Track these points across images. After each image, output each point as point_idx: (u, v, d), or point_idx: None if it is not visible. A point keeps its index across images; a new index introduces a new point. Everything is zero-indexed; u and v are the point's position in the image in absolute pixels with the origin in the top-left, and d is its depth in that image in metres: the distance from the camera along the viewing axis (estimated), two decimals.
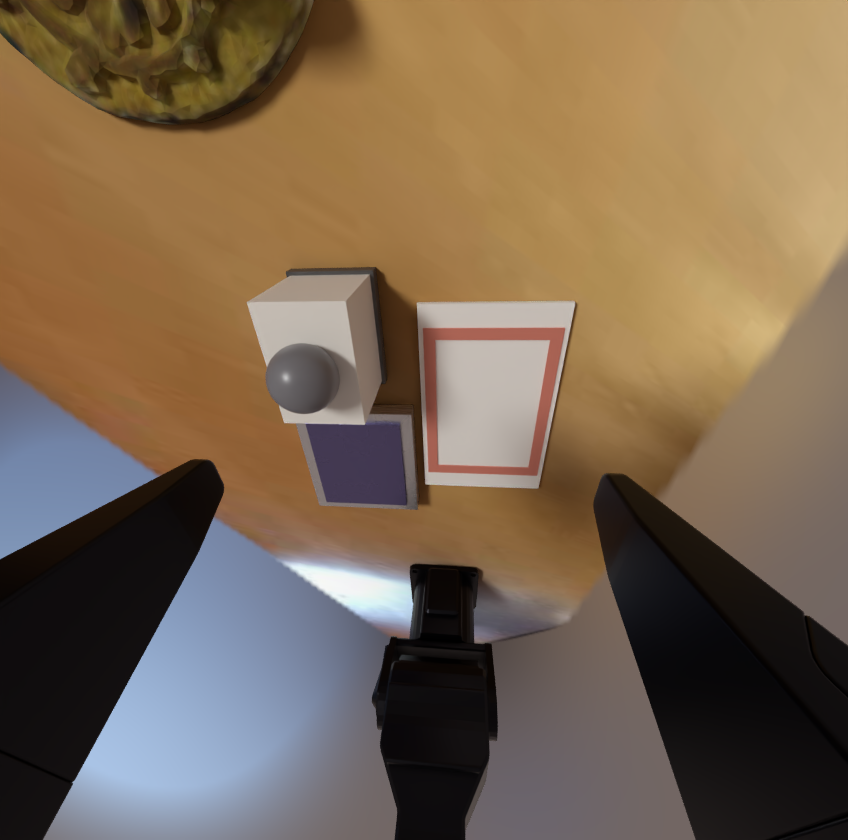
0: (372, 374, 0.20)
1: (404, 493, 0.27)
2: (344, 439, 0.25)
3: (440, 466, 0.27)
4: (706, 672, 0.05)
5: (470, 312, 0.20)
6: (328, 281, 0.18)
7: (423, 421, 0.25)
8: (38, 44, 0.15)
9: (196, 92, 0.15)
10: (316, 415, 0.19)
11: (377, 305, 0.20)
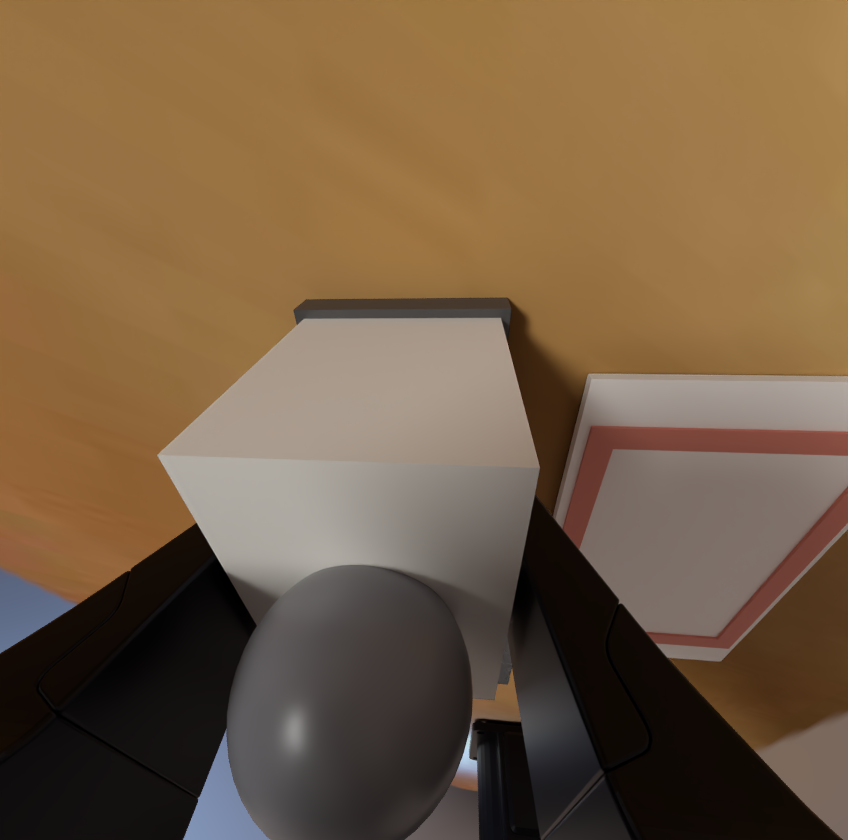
0: None
1: None
2: None
3: None
4: (535, 658, 0.05)
5: (712, 398, 0.09)
6: (409, 343, 0.07)
7: None
8: None
9: None
10: None
11: None
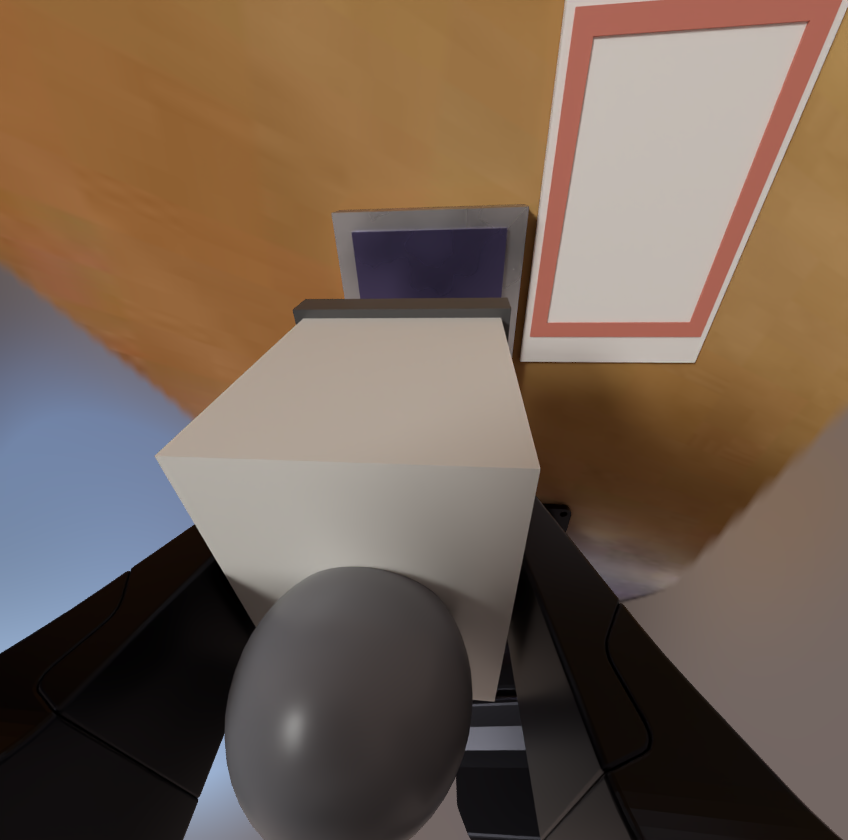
0: None
1: None
2: (411, 264, 0.16)
3: (549, 326, 0.18)
4: (535, 658, 0.05)
5: None
6: (409, 343, 0.07)
7: (538, 233, 0.16)
8: None
9: None
10: None
11: None
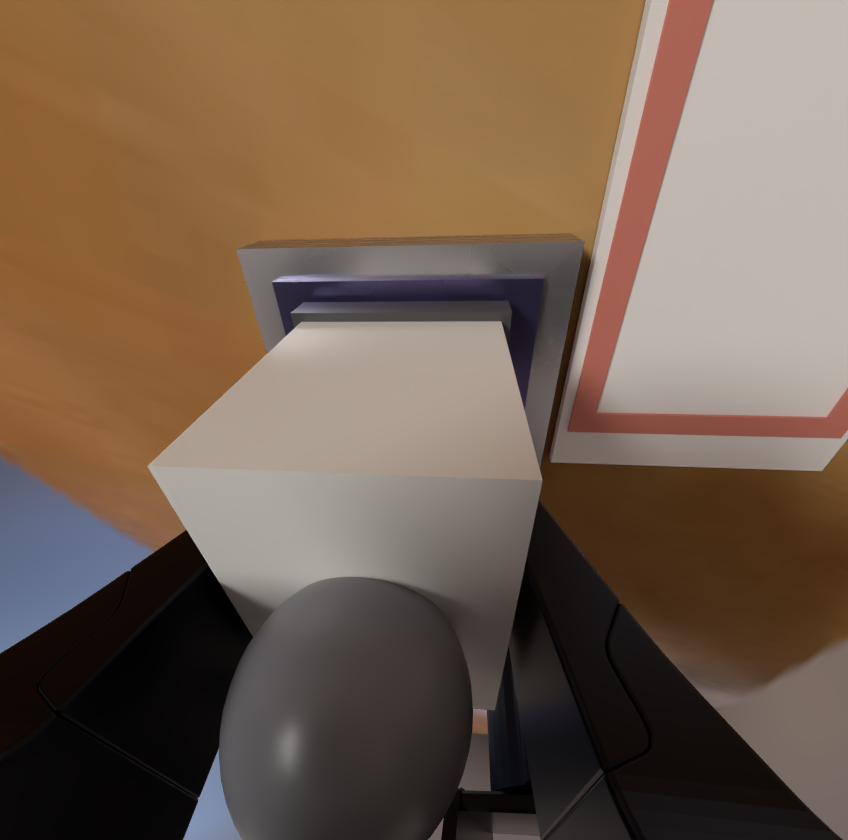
0: None
1: None
2: None
3: (599, 418, 0.11)
4: (535, 658, 0.05)
5: None
6: (408, 347, 0.07)
7: (592, 282, 0.09)
8: None
9: None
10: None
11: None
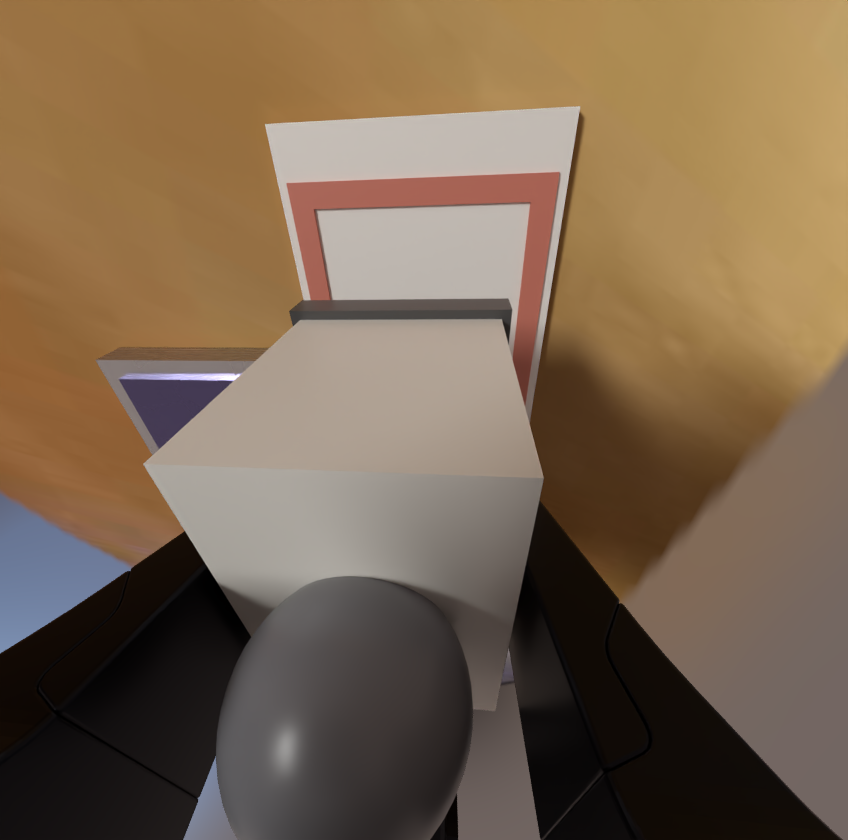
0: None
1: None
2: (189, 407, 0.15)
3: None
4: (535, 658, 0.05)
5: (371, 141, 0.10)
6: (408, 345, 0.07)
7: None
8: None
9: None
10: None
11: None
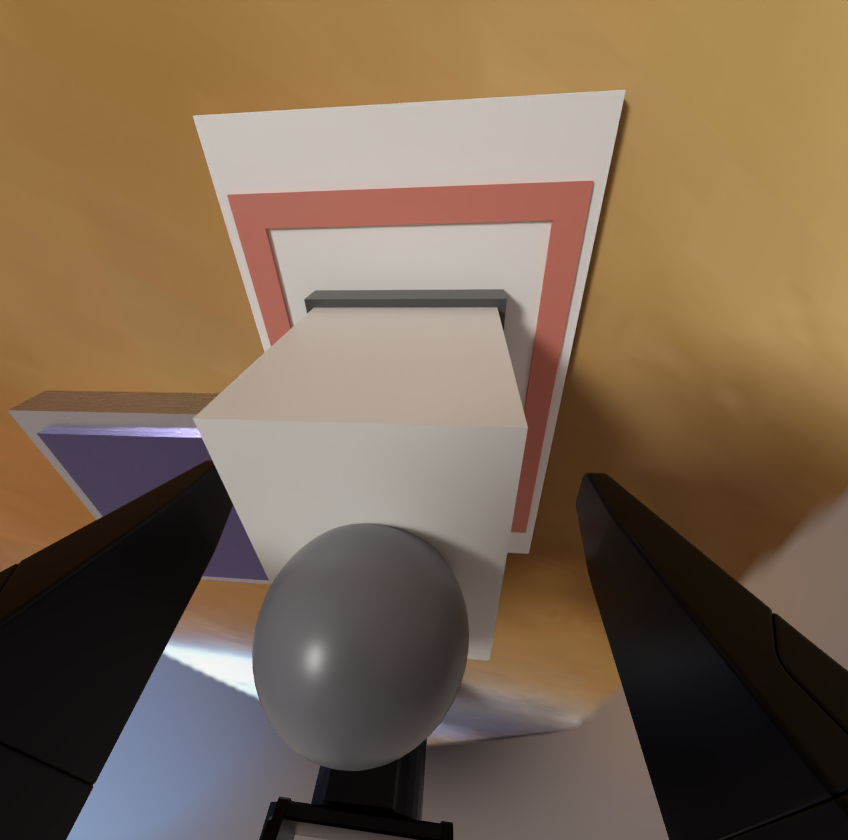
0: None
1: None
2: (127, 466, 0.12)
3: None
4: (676, 670, 0.05)
5: (337, 139, 0.08)
6: (413, 328, 0.07)
7: None
8: None
9: None
10: None
11: None
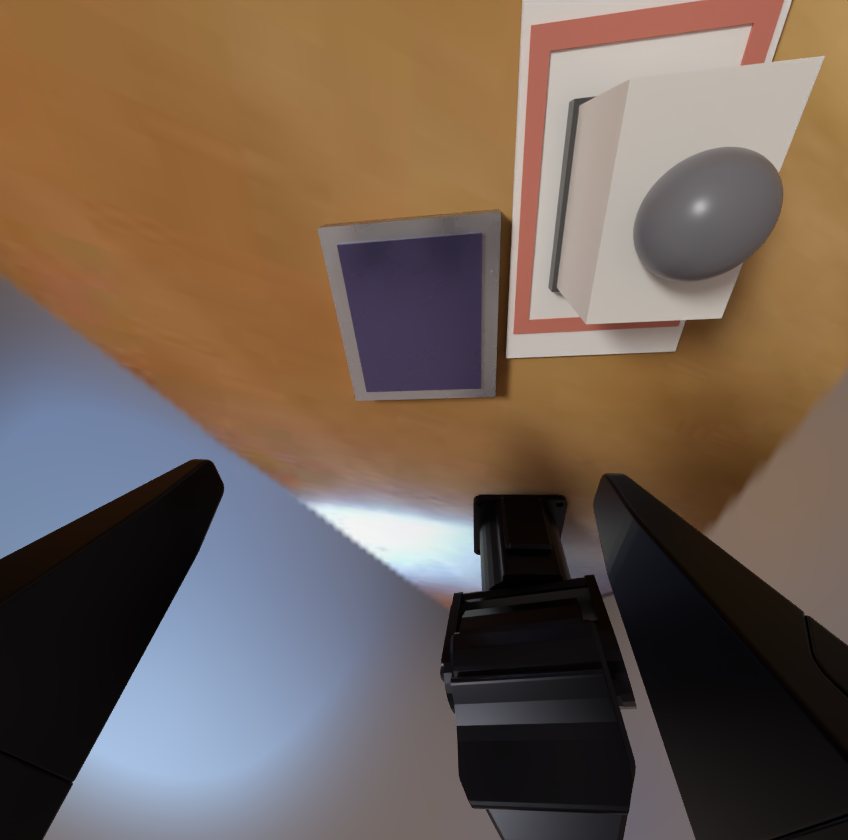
0: None
1: (479, 367, 0.19)
2: (394, 271, 0.17)
3: (531, 323, 0.19)
4: (705, 672, 0.05)
5: None
6: None
7: (513, 236, 0.16)
8: None
9: None
10: (646, 307, 0.12)
11: None
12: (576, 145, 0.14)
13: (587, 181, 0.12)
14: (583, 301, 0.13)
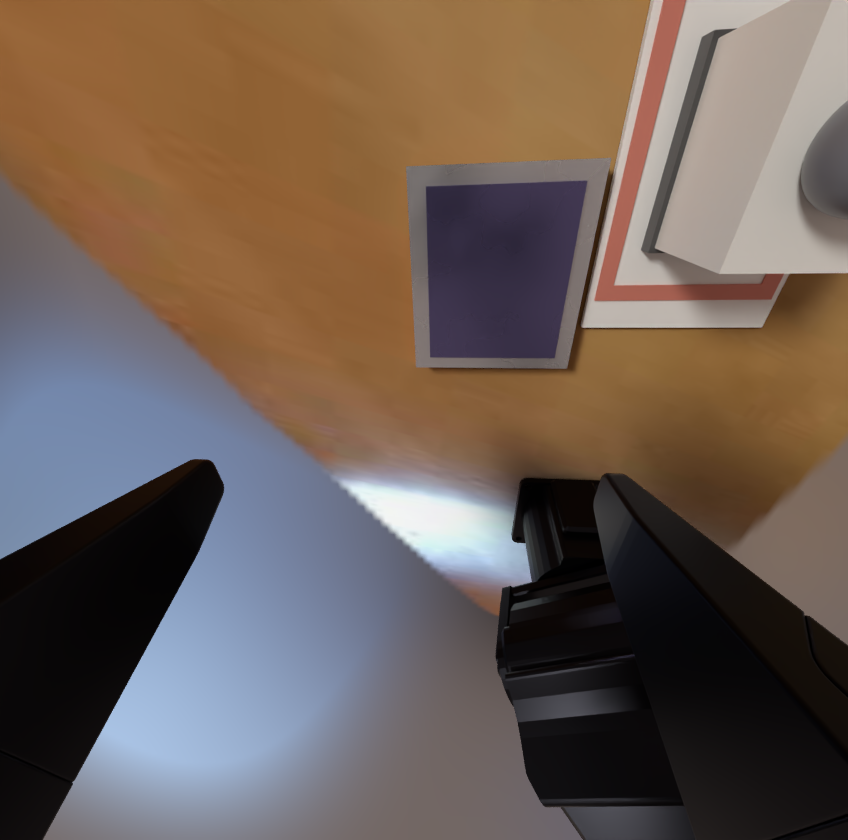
0: None
1: (557, 333, 0.18)
2: (484, 220, 0.15)
3: (615, 289, 0.17)
4: (706, 672, 0.05)
5: None
6: None
7: (613, 189, 0.15)
8: None
9: None
10: (790, 256, 0.11)
11: None
12: (708, 83, 0.12)
13: (731, 116, 0.11)
14: (715, 250, 0.12)
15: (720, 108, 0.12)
